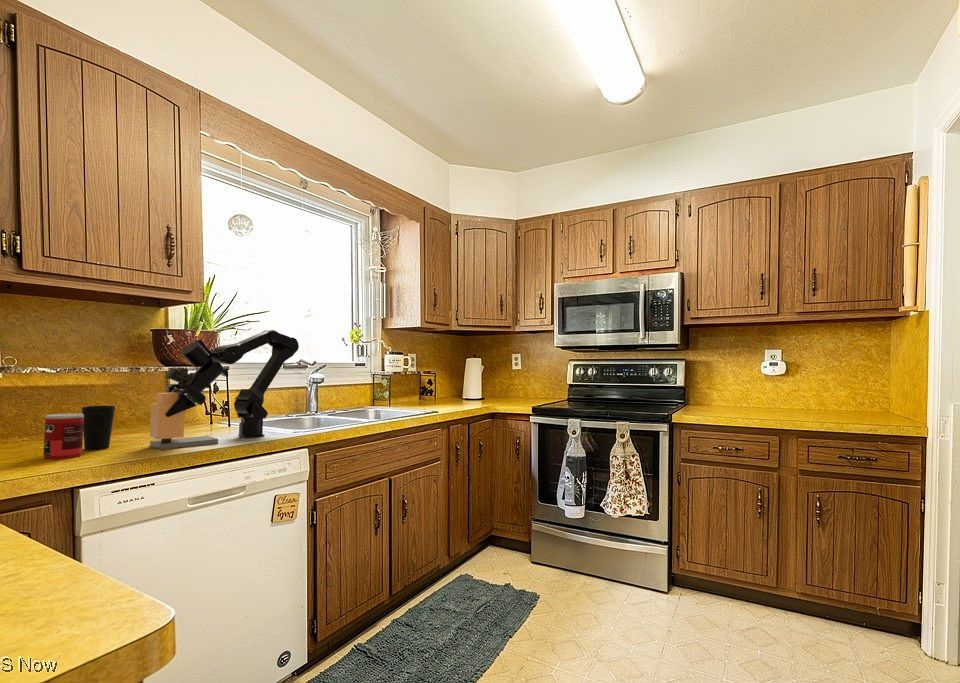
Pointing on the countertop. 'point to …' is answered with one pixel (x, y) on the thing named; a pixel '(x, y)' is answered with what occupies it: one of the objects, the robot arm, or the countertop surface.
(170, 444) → the board
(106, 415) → the cup
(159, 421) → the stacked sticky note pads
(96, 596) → the countertop surface
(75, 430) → the canned food
